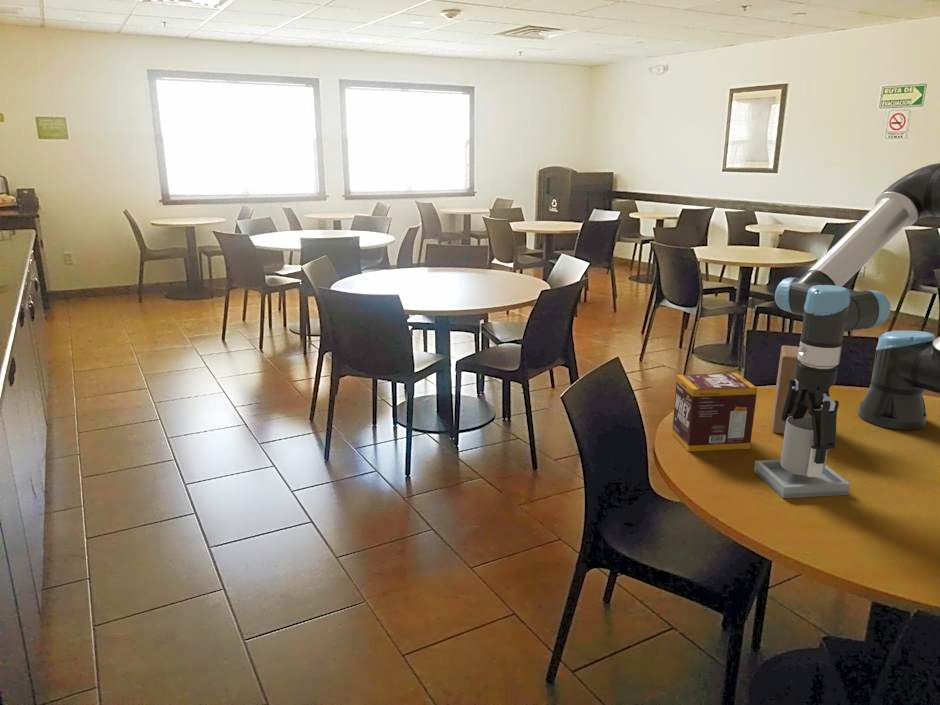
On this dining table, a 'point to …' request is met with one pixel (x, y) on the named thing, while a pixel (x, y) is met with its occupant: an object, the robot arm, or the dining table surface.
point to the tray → (800, 481)
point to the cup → (798, 445)
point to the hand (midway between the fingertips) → (801, 465)
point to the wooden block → (784, 385)
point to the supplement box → (714, 411)
